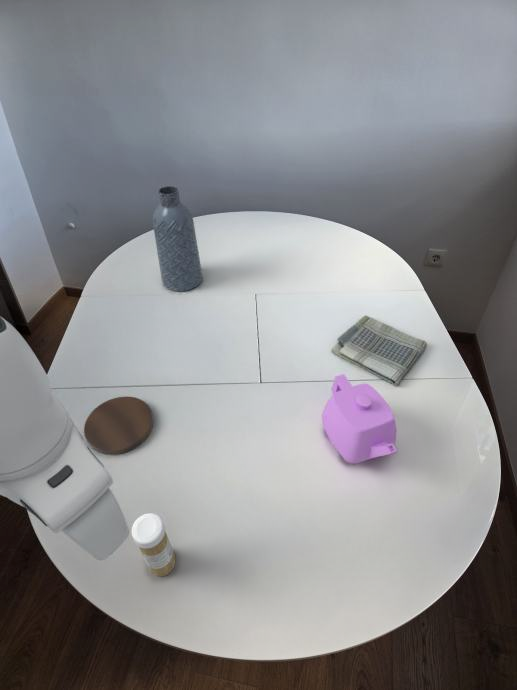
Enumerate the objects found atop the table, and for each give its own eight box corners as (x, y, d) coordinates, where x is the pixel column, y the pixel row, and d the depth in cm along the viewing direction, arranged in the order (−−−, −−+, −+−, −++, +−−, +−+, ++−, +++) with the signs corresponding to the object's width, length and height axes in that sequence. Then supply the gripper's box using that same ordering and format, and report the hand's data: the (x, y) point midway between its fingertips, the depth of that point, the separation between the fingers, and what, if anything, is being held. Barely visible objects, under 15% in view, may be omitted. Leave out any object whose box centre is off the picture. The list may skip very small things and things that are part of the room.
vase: (192, 295, 125) (179, 202, 106) (155, 288, 128) (135, 197, 109) (208, 273, 134) (199, 183, 115) (173, 266, 137) (158, 178, 117)
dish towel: (428, 346, 108) (431, 337, 106) (395, 388, 98) (398, 379, 96) (362, 317, 117) (364, 308, 115) (327, 353, 107) (328, 344, 105)
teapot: (306, 413, 93) (310, 373, 85) (356, 396, 97) (365, 356, 88) (354, 493, 80) (365, 455, 71) (410, 470, 83) (427, 431, 74)
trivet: (113, 467, 84) (111, 463, 83) (72, 430, 91) (70, 426, 90) (166, 421, 92) (165, 417, 91) (125, 391, 99) (124, 386, 98)
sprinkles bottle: (152, 547, 73) (136, 510, 64) (179, 549, 73) (166, 513, 64) (145, 576, 70) (126, 542, 61) (172, 578, 69) (158, 544, 60)
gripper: (-50, 416, 45) (7, 482, 55) (60, 540, 35) (106, 593, 45) (7, 380, 48) (52, 448, 58) (121, 484, 39) (152, 544, 48)
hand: (76, 512), depth 51 cm, fingers open, 8 cm apart
